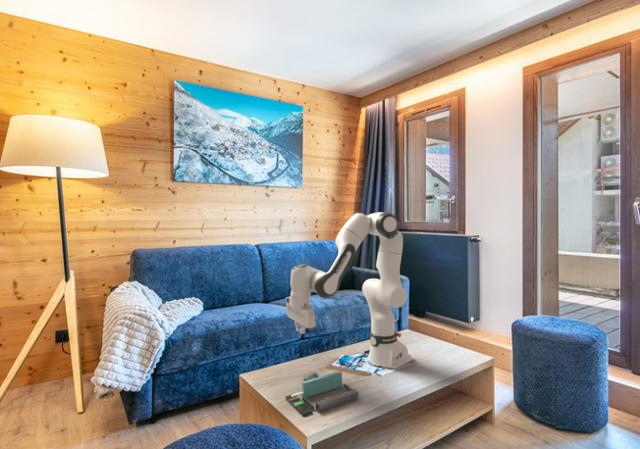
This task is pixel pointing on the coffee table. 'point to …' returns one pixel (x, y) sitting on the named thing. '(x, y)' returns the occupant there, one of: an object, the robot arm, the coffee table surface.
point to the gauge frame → (322, 402)
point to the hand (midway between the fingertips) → (300, 332)
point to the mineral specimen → (310, 375)
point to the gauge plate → (320, 384)
